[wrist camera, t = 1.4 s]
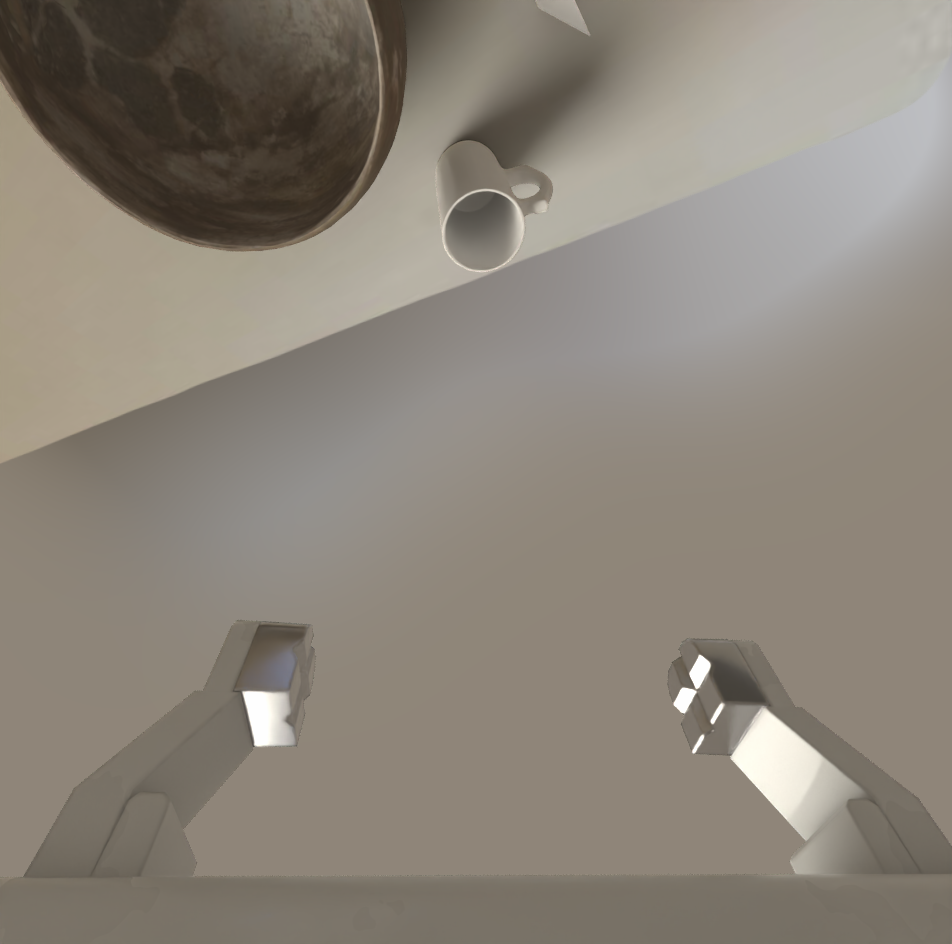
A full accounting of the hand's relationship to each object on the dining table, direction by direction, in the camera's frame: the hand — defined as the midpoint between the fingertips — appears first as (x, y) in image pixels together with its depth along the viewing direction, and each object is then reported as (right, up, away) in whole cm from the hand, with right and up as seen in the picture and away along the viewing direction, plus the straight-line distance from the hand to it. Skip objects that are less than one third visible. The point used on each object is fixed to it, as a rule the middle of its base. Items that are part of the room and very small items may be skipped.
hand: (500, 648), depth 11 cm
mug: (0, +33, +39) cm, 51 cm away
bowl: (-18, +39, +28) cm, 51 cm away
